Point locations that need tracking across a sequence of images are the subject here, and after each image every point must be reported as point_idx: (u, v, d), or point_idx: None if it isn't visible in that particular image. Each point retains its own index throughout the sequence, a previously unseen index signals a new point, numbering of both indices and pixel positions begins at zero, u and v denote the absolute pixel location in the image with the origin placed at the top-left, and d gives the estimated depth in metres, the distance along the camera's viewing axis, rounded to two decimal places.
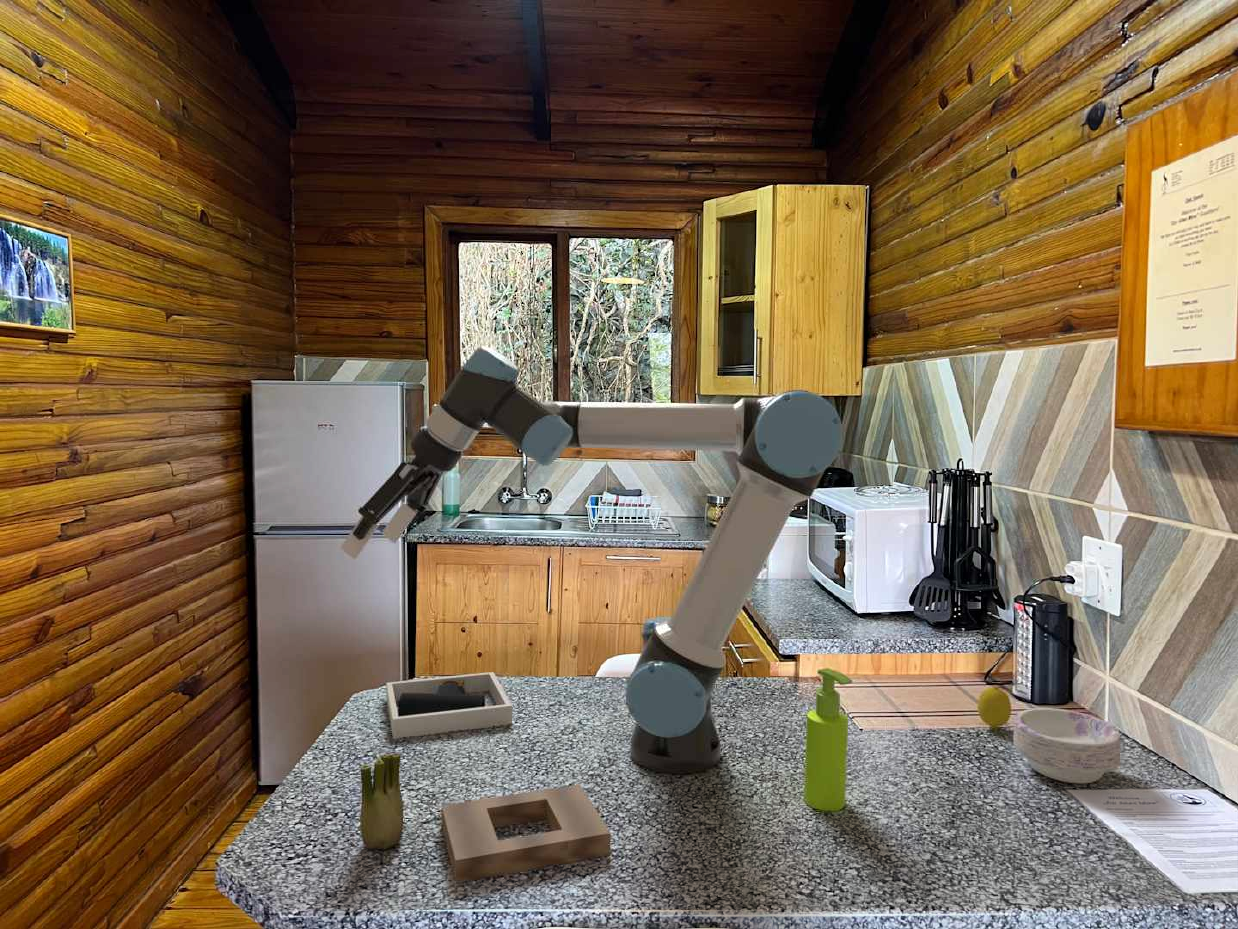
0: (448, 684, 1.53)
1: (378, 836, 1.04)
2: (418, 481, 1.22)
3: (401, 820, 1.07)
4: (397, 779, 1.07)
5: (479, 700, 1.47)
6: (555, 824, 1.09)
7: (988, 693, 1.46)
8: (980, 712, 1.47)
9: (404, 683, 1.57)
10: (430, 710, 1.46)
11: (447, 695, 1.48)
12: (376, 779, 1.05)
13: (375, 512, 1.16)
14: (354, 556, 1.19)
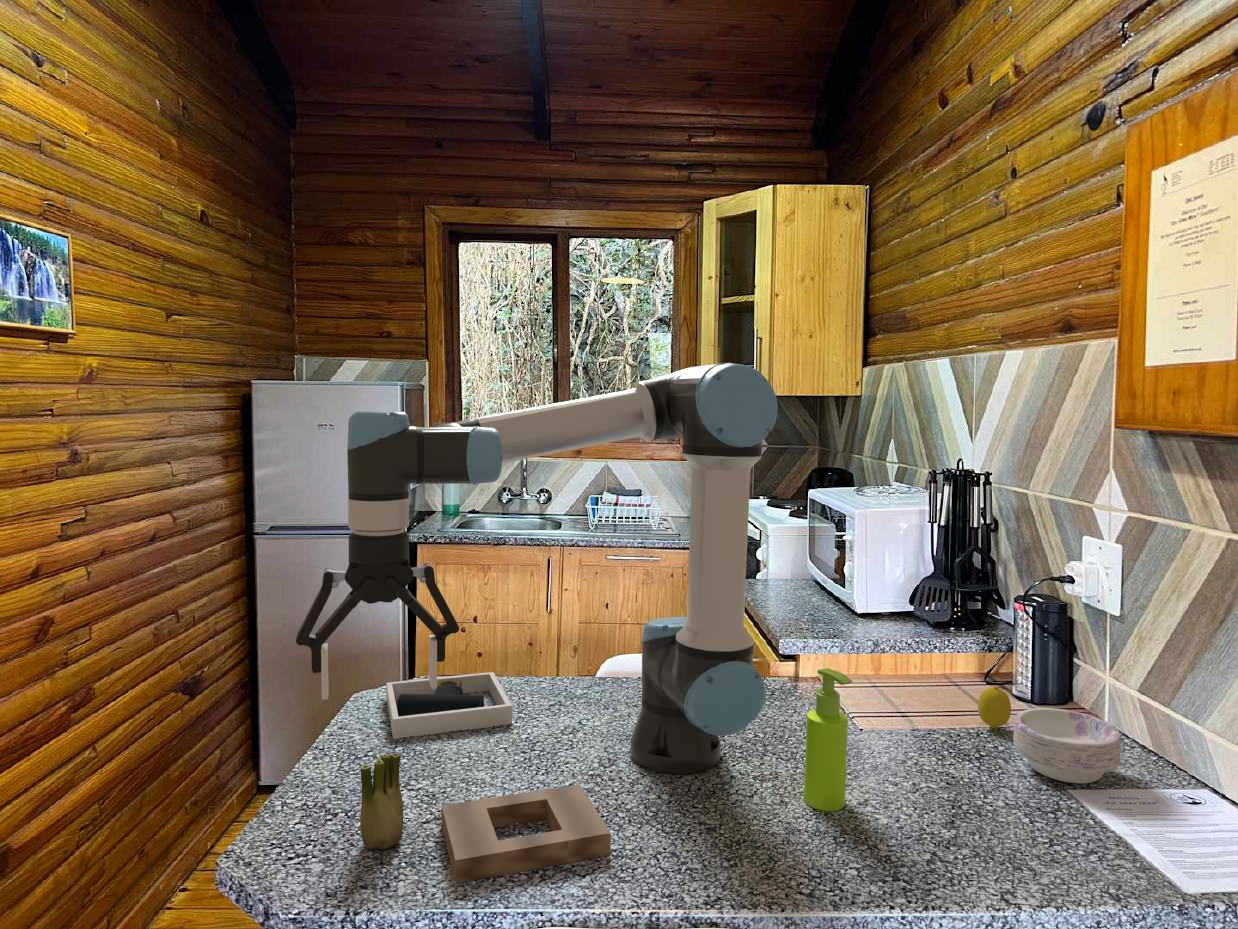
0: (446, 685, 1.53)
1: (378, 836, 1.04)
2: (358, 588, 1.02)
3: (401, 820, 1.07)
4: (397, 779, 1.07)
5: (478, 700, 1.46)
6: (555, 824, 1.09)
7: (988, 693, 1.46)
8: (980, 712, 1.47)
9: (404, 683, 1.57)
10: (429, 711, 1.45)
11: (446, 696, 1.47)
12: (376, 779, 1.05)
13: (299, 631, 1.01)
14: None
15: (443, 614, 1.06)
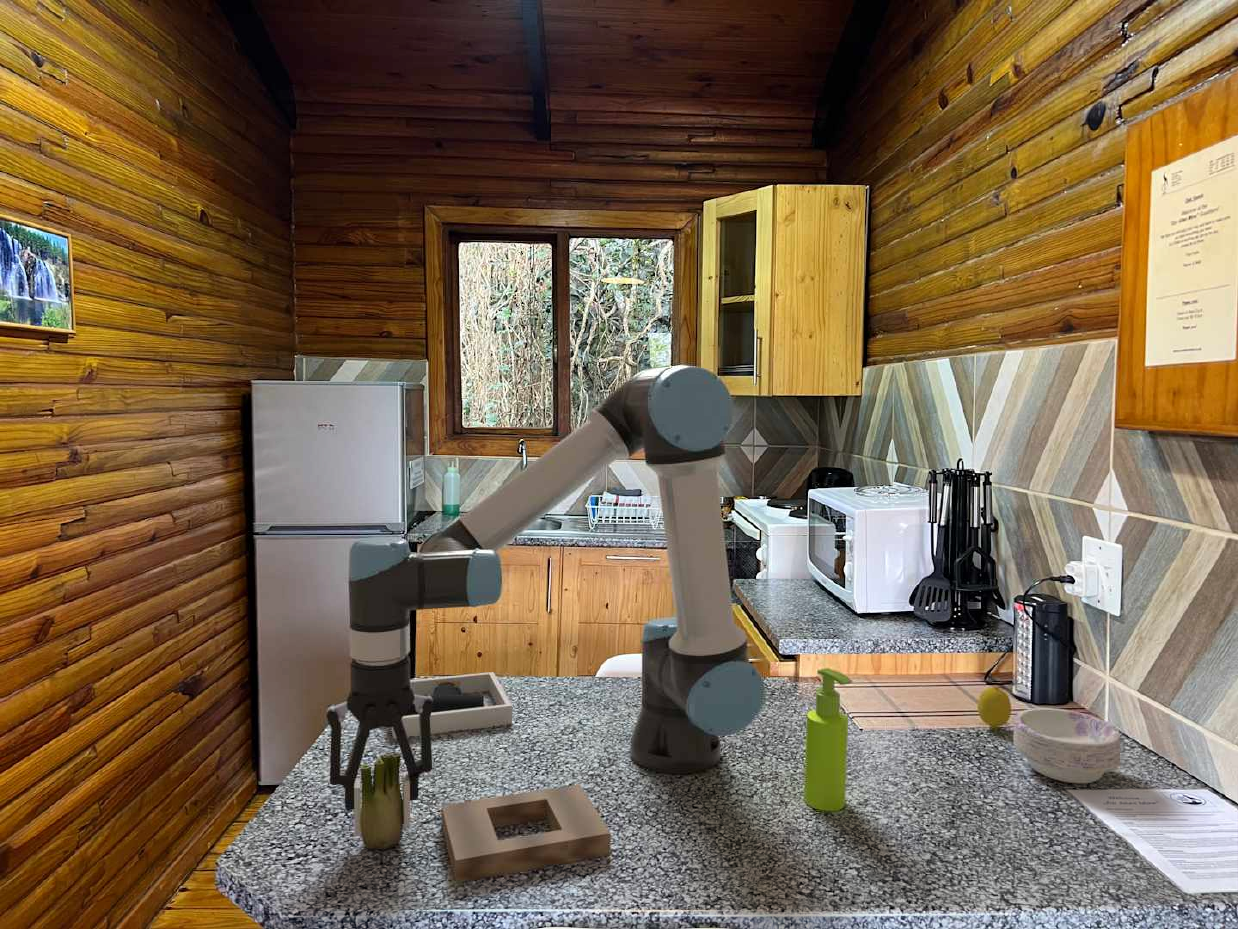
0: (445, 685, 1.52)
1: (379, 836, 1.04)
2: (363, 719, 1.03)
3: (401, 820, 1.07)
4: (397, 779, 1.07)
5: (479, 700, 1.46)
6: (555, 824, 1.09)
7: (988, 693, 1.46)
8: (980, 712, 1.47)
9: None
10: None
11: (447, 697, 1.47)
12: (376, 779, 1.05)
13: (330, 773, 1.03)
14: (355, 833, 1.04)
15: (423, 750, 1.07)
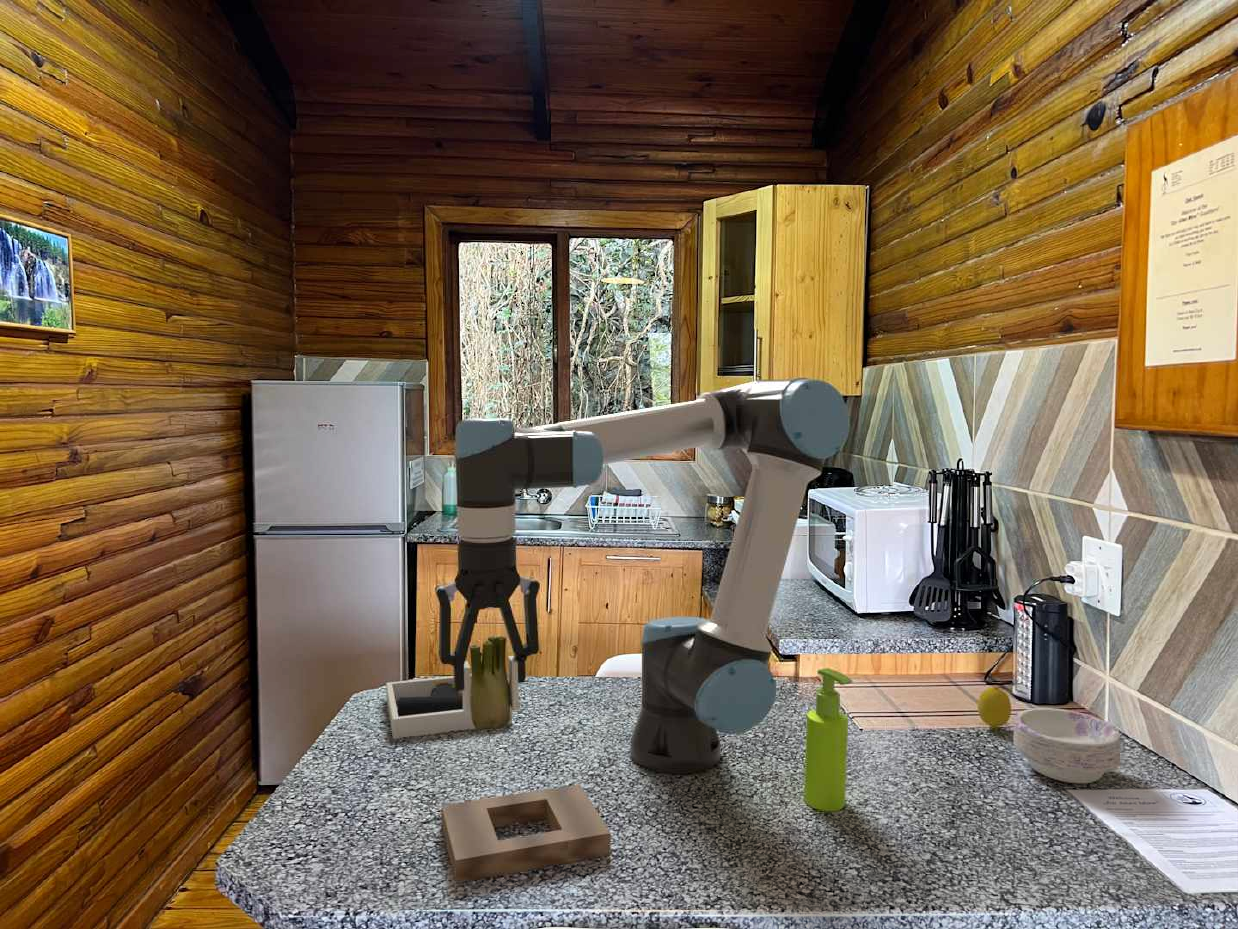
0: (443, 686, 1.52)
1: (489, 716, 1.04)
2: (472, 598, 1.03)
3: (509, 702, 1.07)
4: (504, 662, 1.07)
5: None
6: (555, 824, 1.09)
7: (988, 693, 1.46)
8: (980, 712, 1.47)
9: (404, 683, 1.57)
10: None
11: (447, 697, 1.47)
12: (485, 659, 1.05)
13: (440, 652, 1.03)
14: (465, 713, 1.04)
15: (530, 631, 1.06)
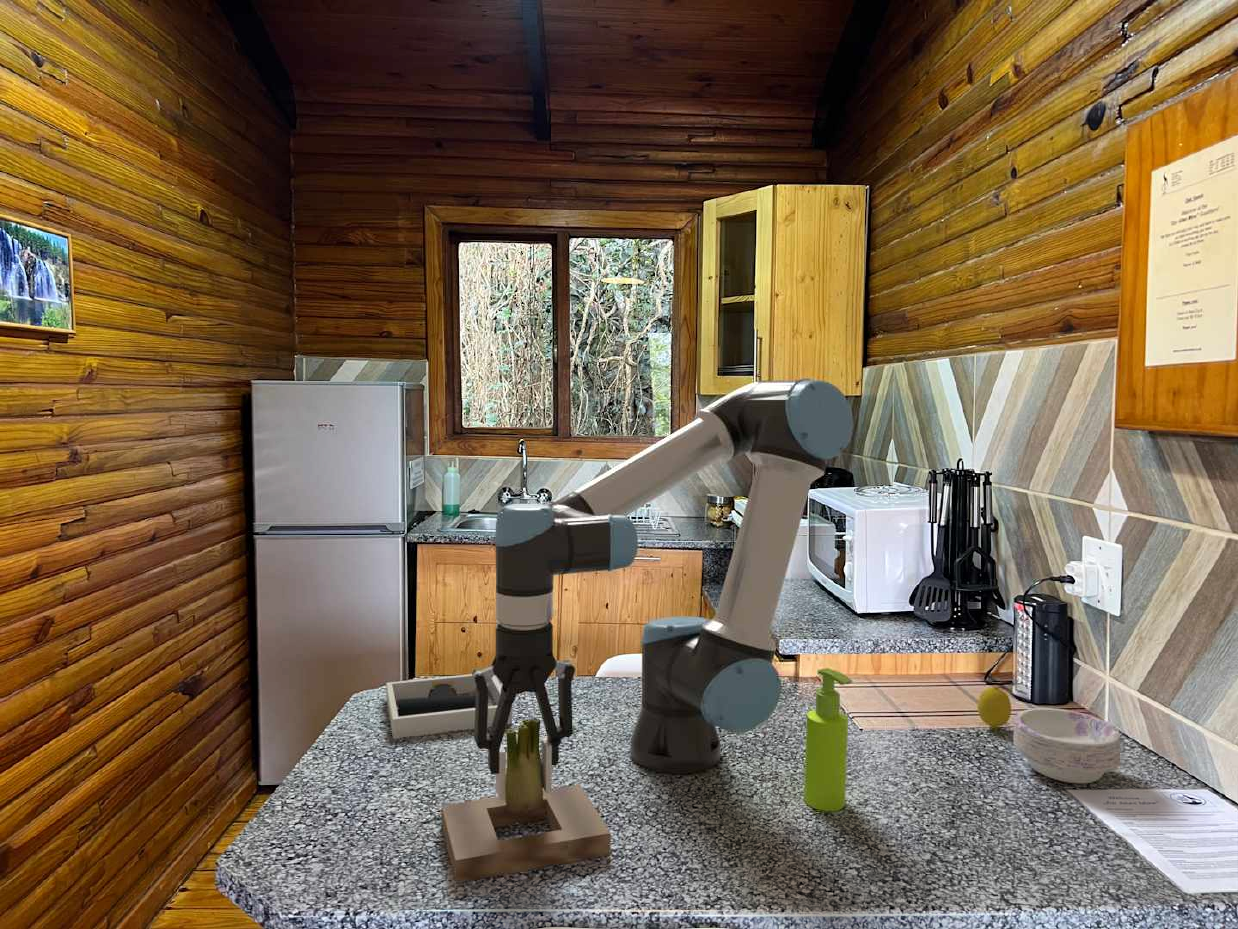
0: (441, 687, 1.51)
1: (523, 800, 1.05)
2: (509, 683, 1.04)
3: (542, 785, 1.08)
4: (538, 744, 1.08)
5: None
6: (555, 824, 1.09)
7: (988, 693, 1.46)
8: (980, 712, 1.47)
9: (404, 683, 1.57)
10: None
11: (447, 698, 1.46)
12: (520, 743, 1.06)
13: (476, 737, 1.04)
14: (499, 797, 1.05)
15: (565, 715, 1.07)
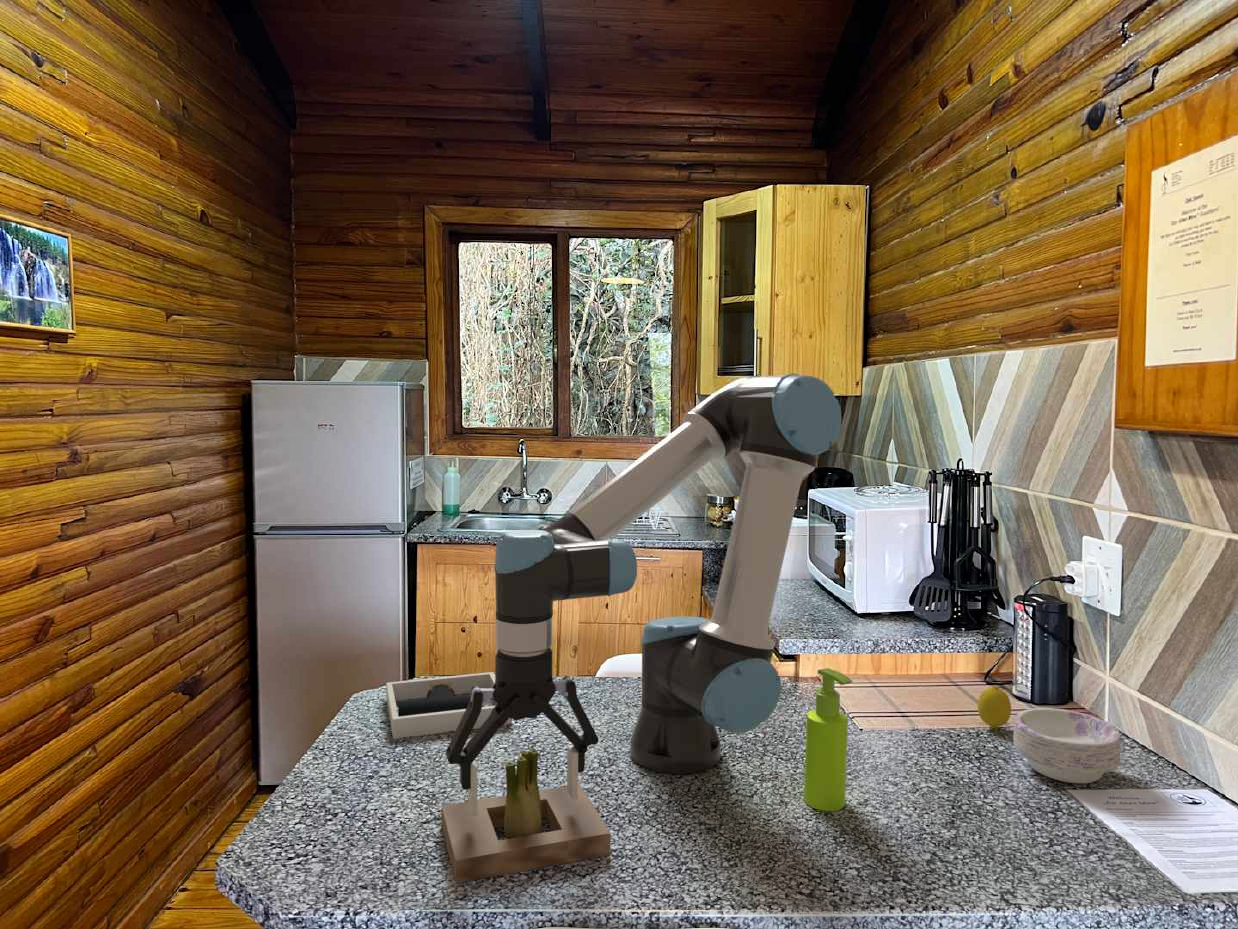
0: (440, 688, 1.51)
1: (523, 832, 1.06)
2: (506, 706, 1.04)
3: (540, 816, 1.09)
4: (536, 775, 1.09)
5: None
6: (555, 824, 1.09)
7: (988, 693, 1.46)
8: (980, 712, 1.47)
9: (404, 683, 1.57)
10: None
11: (447, 699, 1.46)
12: (519, 776, 1.06)
13: (451, 750, 1.03)
14: (471, 812, 1.04)
15: (584, 727, 1.08)
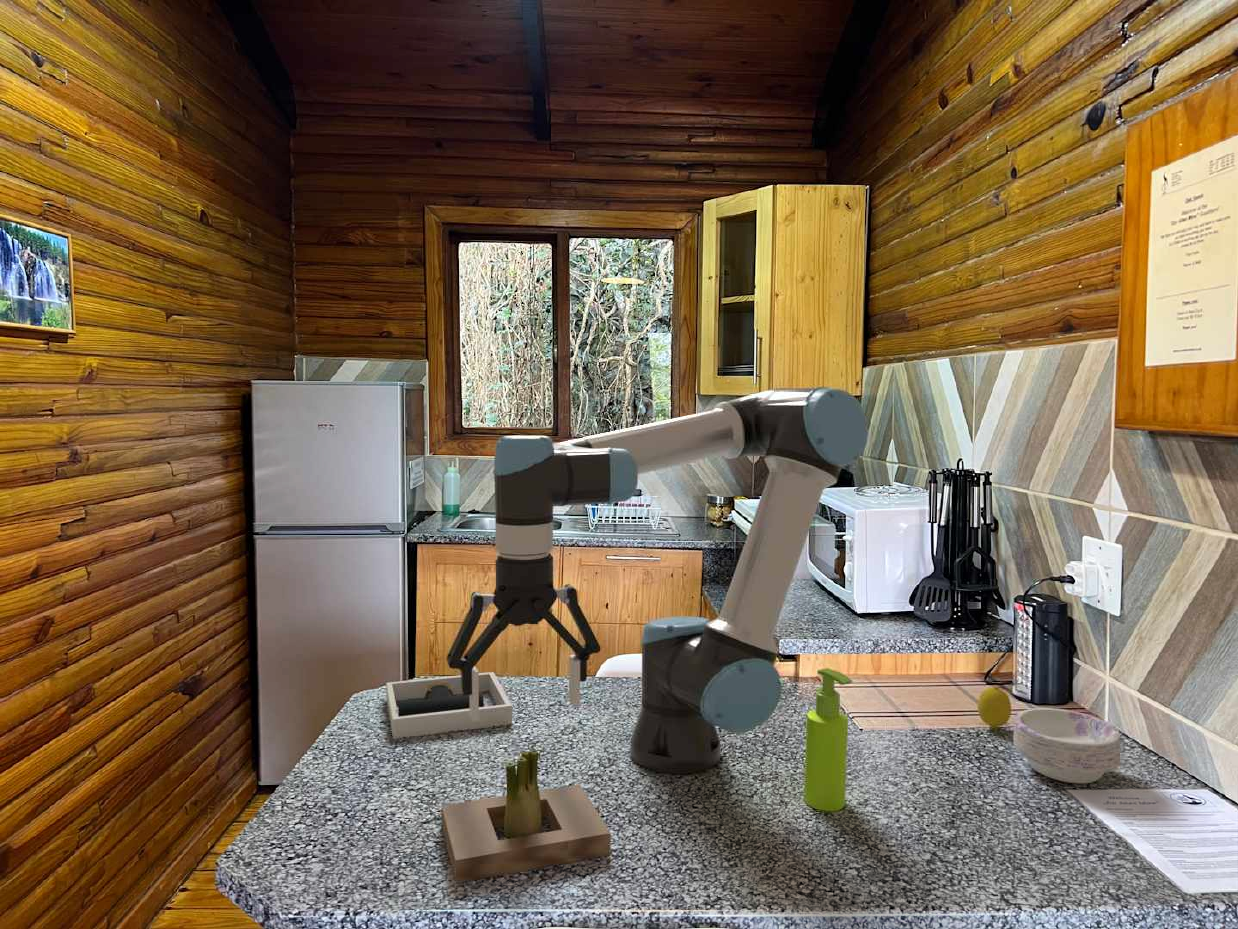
0: (439, 689, 1.51)
1: (523, 832, 1.06)
2: (506, 611, 1.03)
3: (540, 816, 1.09)
4: (536, 776, 1.09)
5: (482, 700, 1.47)
6: (555, 824, 1.09)
7: (988, 693, 1.46)
8: (980, 712, 1.47)
9: (404, 683, 1.57)
10: None
11: (447, 699, 1.46)
12: (519, 776, 1.06)
13: (451, 655, 1.02)
14: (472, 718, 1.03)
15: (585, 634, 1.08)
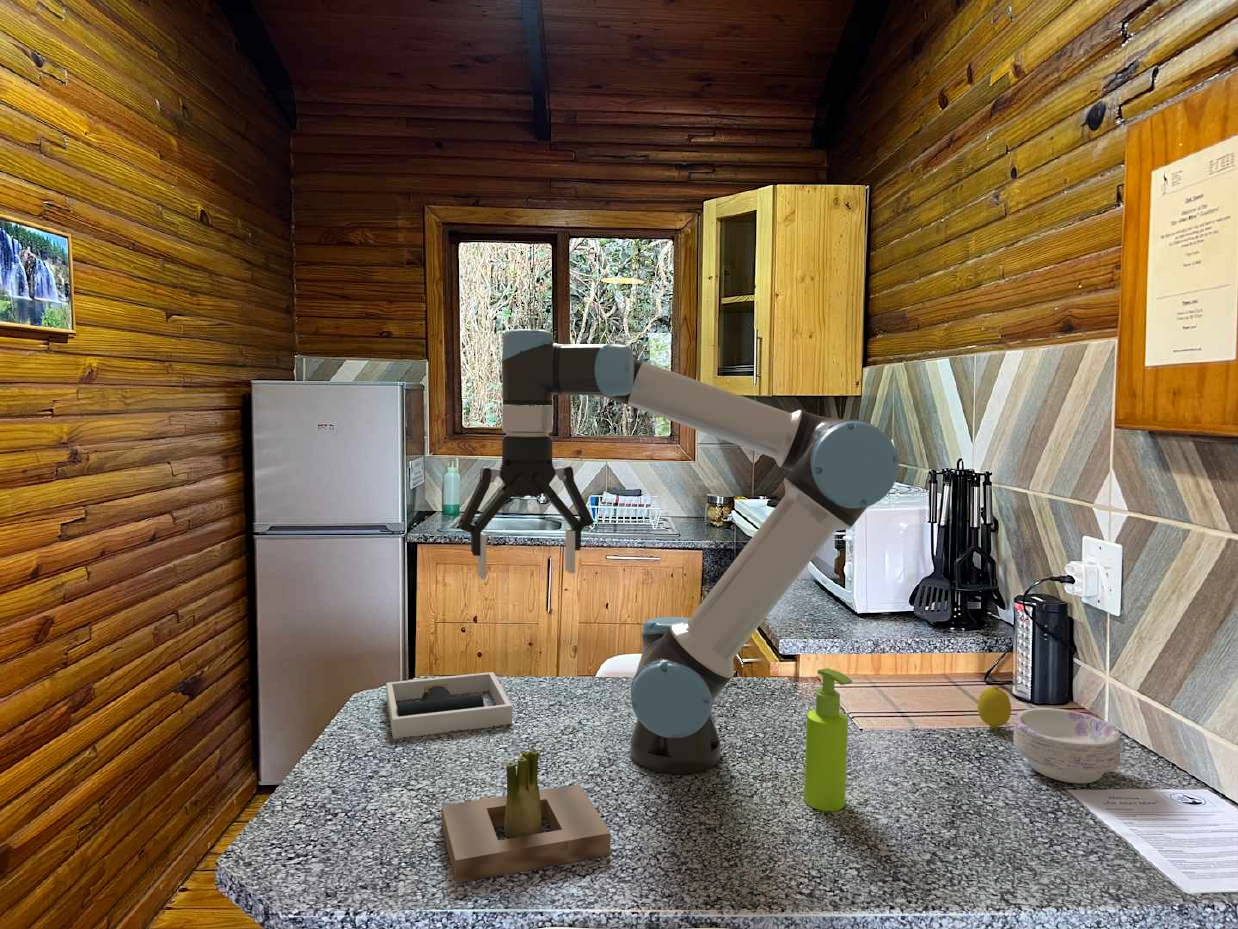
0: (436, 690, 1.50)
1: (523, 832, 1.06)
2: (511, 483, 1.19)
3: (540, 816, 1.09)
4: (536, 776, 1.09)
5: (481, 700, 1.46)
6: (555, 824, 1.09)
7: (988, 693, 1.46)
8: (980, 712, 1.47)
9: (404, 683, 1.57)
10: None
11: (447, 700, 1.45)
12: (520, 776, 1.06)
13: (463, 519, 1.17)
14: (481, 576, 1.18)
15: (580, 508, 1.23)
